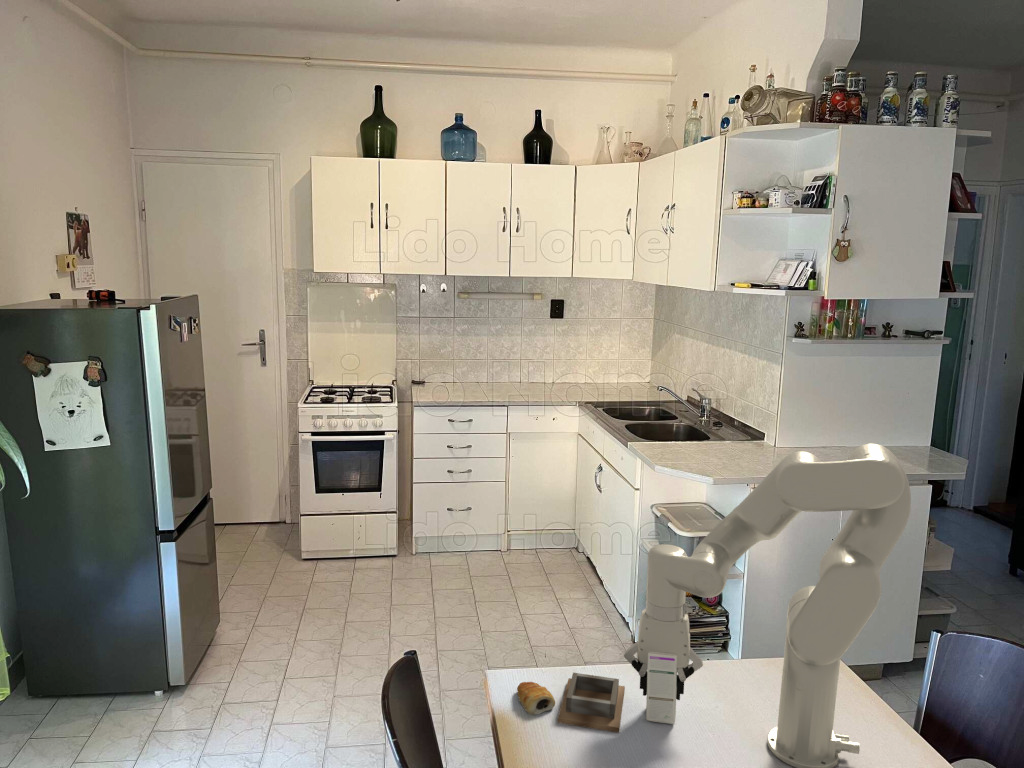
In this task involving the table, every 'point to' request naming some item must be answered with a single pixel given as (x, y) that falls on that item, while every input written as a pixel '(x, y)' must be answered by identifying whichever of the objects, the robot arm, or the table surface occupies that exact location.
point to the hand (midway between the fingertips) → (661, 693)
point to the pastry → (535, 698)
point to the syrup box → (661, 687)
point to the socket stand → (592, 702)
